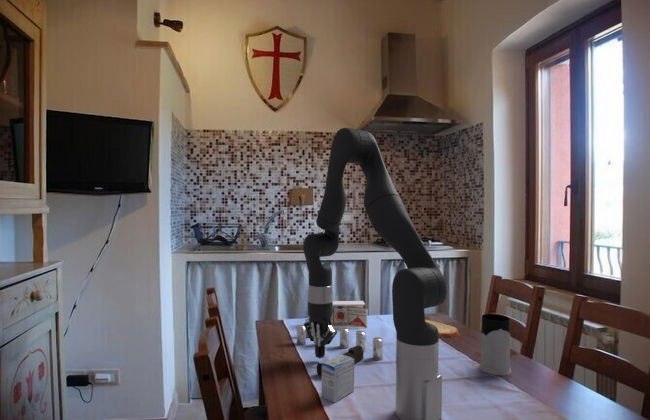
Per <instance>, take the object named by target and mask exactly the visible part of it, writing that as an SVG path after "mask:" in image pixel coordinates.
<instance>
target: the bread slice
mask: <svg viewBox="0 0 650 420" xmlns="http://www.w3.org/2000/svg"><path fill="white" fill-rule="evenodd" d="M425 322H427V323H430V324H433V325H435V326H436V327H437V329H438V333H439V338H443V339H444V338H445V339H448V338H449V339H451V338H452V339H453V338H457V337H460V333H459V330H458V328H457V327H454V326H452V325H449V324H445V323H443V322H439V321H433V320H429V319H425Z"/></svg>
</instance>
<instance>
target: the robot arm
mask: <svg viewBox="0 0 650 420" xmlns="http://www.w3.org/2000/svg"><path fill="white" fill-rule="evenodd" d="M347 164H353V165H354V164H356V165H358V166H359V167H360V168H361V170H362V172H363V175H364V178H365V180H366V183H365V190H364V196H363V206H364V210H365V213H366V215H367V217H368V219H369V222H370V224H371V226H372V228H373V230H374V231H375V232H376V233H377V234H378V236H379V237H380V238H382V240H384V241H385V242H386V243H387V244H388V245H389V246H390V247H391V248H392V249H394V251H396V252H397V254H399V256H400V258H401V259H402V260H403V262H404V264H405V266H406V267H407V268H403V269H400V270H398V271H397V272H396V274H395V275H394V278H393V280H392V284H391V297H392V298H391V300H392V320H393V321H392V322H393V325H394V328H395V331H396V332H395V333H396V341H395V342H396V343H395V345H396V349H395V350H396V351H395V353H396V354H395V356H396V357H395V365H396V366H395V415H396V417H397V418H398V419H399V420H441V419H442V418H443V413H442V411H443V408H442V407H443V406H442V405H443V404H442V403H443V376H442V375H441V374H439V338H440V337H439V333H438V329H437V327H436V326H435V325H433V324H430V323H427V322H425V320H426V316H425V309H429V308H433V307H438V306H439V305H442V304H443V303H444V302H445V301H446V298H447V295H448V293H447V292H448V290H447V282H446V279H445V276H444V275H443V272H442V271H441V269H440V268H439V266H438V265H437V263H436V262H435V259H433V257H432V255H431V254H430V252H429V251H428V249H427V247H426V245H425V244H424V242H423V241H422V238H421V237H420V234H419V233H418V231H417V229H416V227H415V226H414V223H413V221H412V219H411V217H410V216H409V213H408V210H407V208H406V206H405V204H404V202H403V200H402V198H401V196H400V194H399V193H398V191H397V189H396V187H395V185H394V183H393V180H392V178H391V175H390V173H389V172H388V170H387V168H386V165H385V161H384V160H383V157H382V154H381V150H380V148H379V146H378V143H377V141H376V138H375V137H374V135H373V133H371V132H369V131H367V130H362V129H356V128H352V127H351V128H350V127H342V128H340V129H338V130H337V131H336V133H335V134H334V136H333V138H332V142H331V146H330V153H329V159H328V165H327V171H326V172H327V173H326V180H325V188H324V193H323V196H322V201H321V204H320V206H319V210H318V213H317V216H316V221H315V222H316V225H317V227H318V228H319V229H320V230H323V231H324V232H323V233H309V234H307V236H305V238H304V240H303V244H302V246H303V255H304V259H305V261H306V265H307V266H306V267H307V269H308V270H307V271H308V287H307V289H308V290H307V315H308V319H309V321H308V322H306V323H305V322H304V323H303V325H304V327H305V329H306V331H307V334H308V336H309V338H308V339H309V340H310V342H313V344H314V354H315V358H317V359H322V358H324V357H325V354H326V351H325V350H326V345H327V346H328V345H330V344H331V343H332V341H333V339H334V338H335V337H336V335H337V334H338V329H333V328H332V327H331V325H332V323H331V319H330V318H331V316H332V314H333V301H334V300H333V299H334V297H333V295H334V294H333V293H334V292H333V269H332V267H331V266H330V265H329V264H325V263H322V261H321V258H322V257H323V258H324V257H325V258H326V257H332V256H333V255H334V254H336V253H337V250H338V248H339V241H340V226H341V222H342V220H343V216H344V213H345V209H346V207H347V206H346V205H347V197H346V192H345V187H344V179H343V177H344V172H345V169H346V166H347ZM311 333H312V334H311ZM322 338H323V339H322Z"/></svg>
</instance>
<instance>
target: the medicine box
mask: <svg viewBox="0 0 650 420" xmlns="http://www.w3.org/2000/svg"><path fill="white" fill-rule="evenodd" d="M321 363H322V377H321V398H322V399H325V400H327V401H329V402H332V403H337V402H339V401H340V400H342V399H344V398H345V397H346V396H348V395H350V394H351V393H353V392H354V391H355V364H354V359H353V358H351V357H348V356H345V355H343V354H339V355H336V356H335V357H332V358H330V359H327V360H326V362H325V361H324V363H323V362H321Z"/></svg>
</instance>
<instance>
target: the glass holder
mask: <svg viewBox="0 0 650 420" xmlns="http://www.w3.org/2000/svg"><path fill="white" fill-rule="evenodd" d="M510 320H511V318H510V317H508V316H506V315H501V314H496V313H495V314H494V313H486V314H482V315H481V332H480V362H479V365H478V368H479V370H481V371H482V372H483V373H487V374H490V375H494V376H507V375H510V374H512V369H511V332H510V331H511V330H510V329H511V328H510V325H511V324H510V323H511V321H510Z"/></svg>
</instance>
